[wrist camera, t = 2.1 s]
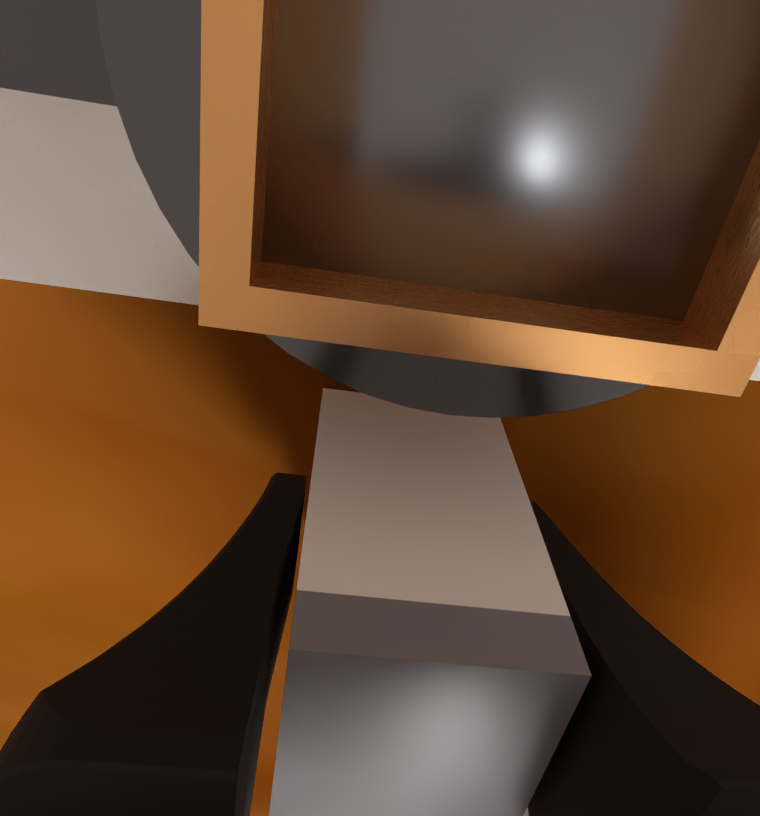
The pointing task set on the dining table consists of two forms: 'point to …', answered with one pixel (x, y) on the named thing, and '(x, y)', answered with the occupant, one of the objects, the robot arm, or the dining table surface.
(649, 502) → the dining table surface
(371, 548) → the block
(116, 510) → the dining table surface
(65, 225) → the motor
